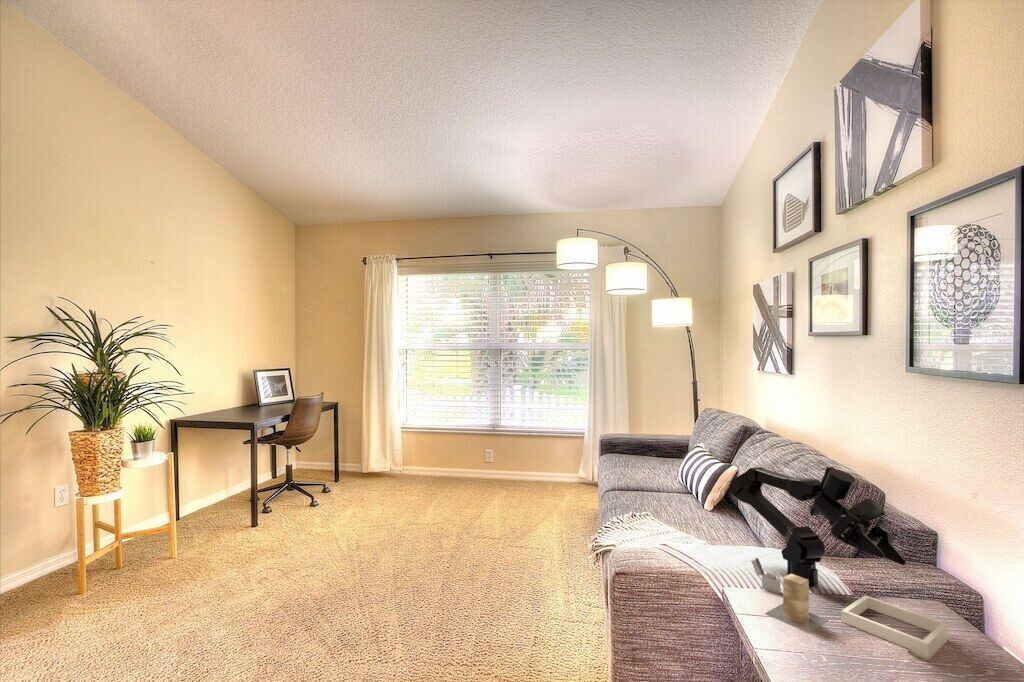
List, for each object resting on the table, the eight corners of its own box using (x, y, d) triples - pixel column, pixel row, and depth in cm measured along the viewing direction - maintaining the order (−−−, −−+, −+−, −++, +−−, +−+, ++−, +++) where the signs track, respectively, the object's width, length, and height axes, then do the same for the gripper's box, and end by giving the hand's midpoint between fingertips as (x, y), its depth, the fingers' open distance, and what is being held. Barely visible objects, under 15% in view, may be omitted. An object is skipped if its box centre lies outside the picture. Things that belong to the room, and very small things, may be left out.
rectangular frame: (841, 625, 114) (841, 610, 114) (865, 609, 122) (864, 595, 122) (928, 661, 101) (927, 644, 101) (948, 640, 109) (947, 624, 109)
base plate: (764, 617, 117) (764, 613, 117) (784, 606, 123) (784, 602, 123) (808, 637, 109) (808, 633, 109) (828, 624, 114) (828, 620, 114)
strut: (783, 615, 116) (783, 577, 116) (791, 610, 118) (791, 573, 119) (800, 623, 113) (800, 584, 113) (808, 618, 115) (808, 579, 116)
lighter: (780, 595, 128) (780, 565, 129) (777, 597, 127) (777, 566, 128) (753, 585, 134) (753, 556, 134) (750, 587, 133) (750, 557, 133)
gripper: (835, 481, 121) (894, 525, 107) (876, 498, 128) (937, 541, 114) (808, 515, 123) (863, 563, 110) (850, 530, 131) (907, 576, 117)
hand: (894, 560), depth 112 cm, fingers open, 9 cm apart
